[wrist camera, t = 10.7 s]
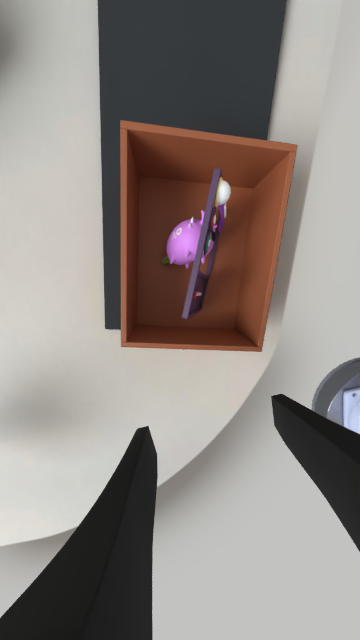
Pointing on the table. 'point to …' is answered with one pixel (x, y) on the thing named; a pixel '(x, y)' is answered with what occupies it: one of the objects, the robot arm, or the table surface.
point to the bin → (236, 234)
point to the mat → (179, 85)
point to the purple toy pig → (199, 243)
